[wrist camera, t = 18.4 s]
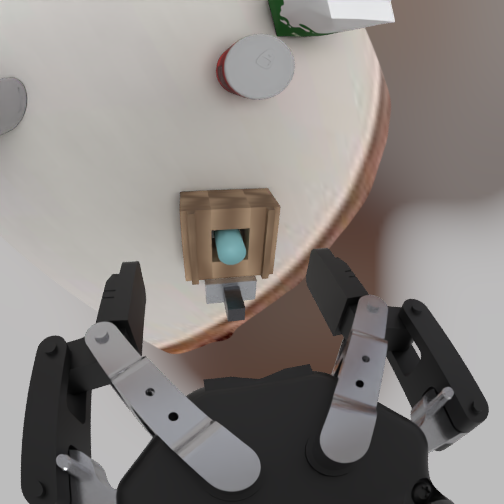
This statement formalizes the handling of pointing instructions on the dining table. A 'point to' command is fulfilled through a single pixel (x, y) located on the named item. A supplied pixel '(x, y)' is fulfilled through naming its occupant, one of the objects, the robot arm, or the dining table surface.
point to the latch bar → (231, 294)
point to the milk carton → (327, 16)
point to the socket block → (222, 218)
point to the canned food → (256, 67)
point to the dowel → (229, 246)
